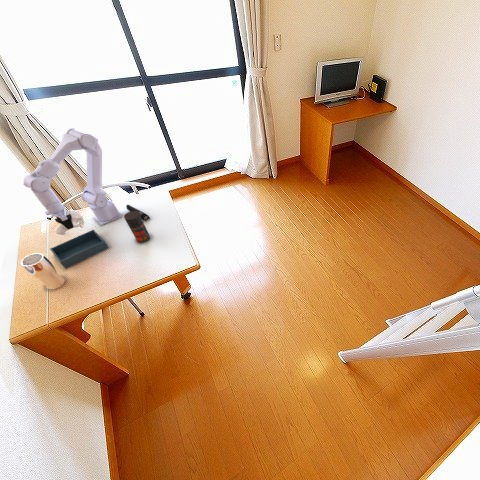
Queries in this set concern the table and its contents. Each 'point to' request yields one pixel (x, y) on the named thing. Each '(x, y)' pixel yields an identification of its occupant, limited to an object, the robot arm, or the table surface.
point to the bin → (79, 248)
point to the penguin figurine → (75, 219)
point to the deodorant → (137, 226)
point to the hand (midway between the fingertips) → (68, 224)
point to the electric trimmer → (142, 214)
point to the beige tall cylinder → (42, 270)
